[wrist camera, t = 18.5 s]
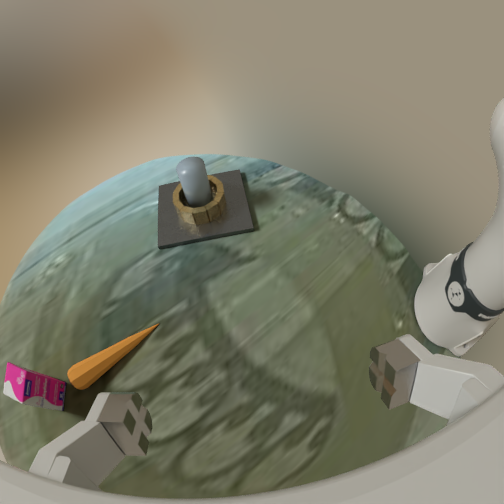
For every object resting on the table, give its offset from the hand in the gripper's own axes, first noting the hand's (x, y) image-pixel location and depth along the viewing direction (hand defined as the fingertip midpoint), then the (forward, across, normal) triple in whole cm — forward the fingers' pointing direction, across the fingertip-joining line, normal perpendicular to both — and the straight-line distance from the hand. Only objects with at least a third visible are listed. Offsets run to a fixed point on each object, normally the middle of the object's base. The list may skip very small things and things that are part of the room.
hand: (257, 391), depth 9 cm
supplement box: (+26, +38, +21) cm, 51 cm away
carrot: (+31, +23, +17) cm, 42 cm away
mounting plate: (+50, +5, -3) cm, 50 cm away
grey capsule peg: (+50, +5, -4) cm, 50 cm away
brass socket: (+50, +5, -3) cm, 50 cm away
